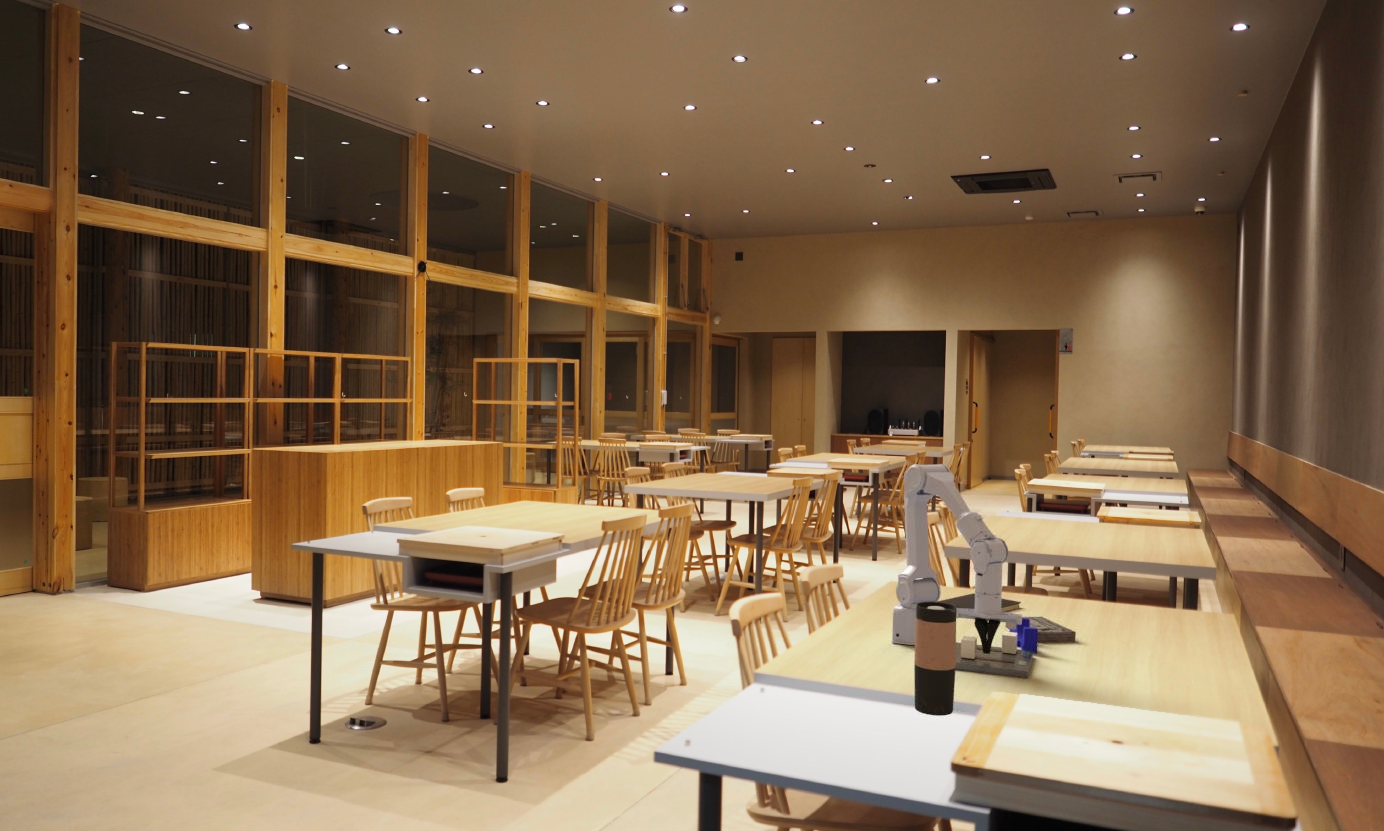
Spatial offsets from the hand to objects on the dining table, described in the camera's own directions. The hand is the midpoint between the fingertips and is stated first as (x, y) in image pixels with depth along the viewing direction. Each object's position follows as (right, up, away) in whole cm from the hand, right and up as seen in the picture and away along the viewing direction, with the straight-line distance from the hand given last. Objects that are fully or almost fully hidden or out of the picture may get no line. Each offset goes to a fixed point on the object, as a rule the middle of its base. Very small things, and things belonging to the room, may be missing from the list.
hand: (986, 652), depth 218 cm
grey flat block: (+23, -4, +32) cm, 39 cm away
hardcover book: (+15, -3, +62) cm, 64 cm away
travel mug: (-20, -3, -32) cm, 38 cm away
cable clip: (+14, -3, +18) cm, 23 cm away
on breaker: (+7, -2, +7) cm, 10 cm away
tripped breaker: (-4, -1, +2) cm, 4 cm away
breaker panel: (+1, -3, +3) cm, 4 cm away
